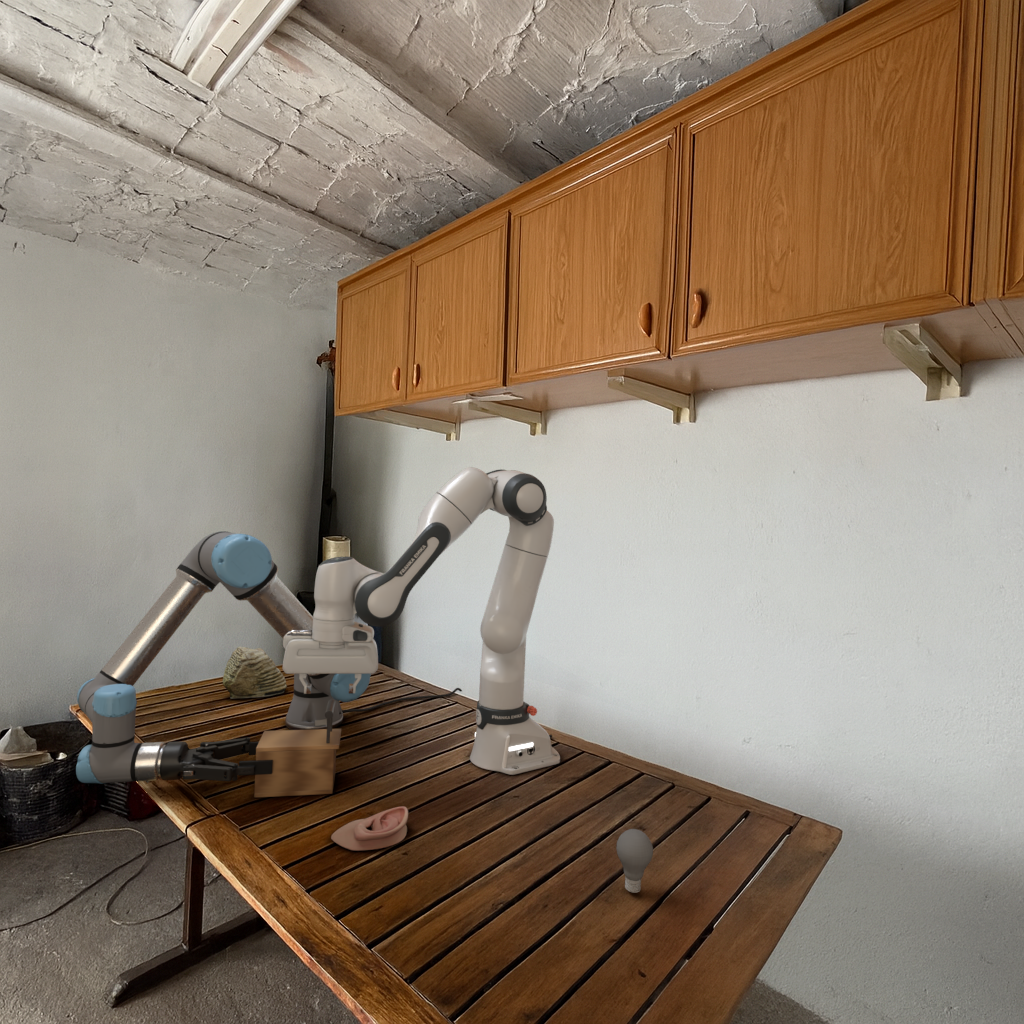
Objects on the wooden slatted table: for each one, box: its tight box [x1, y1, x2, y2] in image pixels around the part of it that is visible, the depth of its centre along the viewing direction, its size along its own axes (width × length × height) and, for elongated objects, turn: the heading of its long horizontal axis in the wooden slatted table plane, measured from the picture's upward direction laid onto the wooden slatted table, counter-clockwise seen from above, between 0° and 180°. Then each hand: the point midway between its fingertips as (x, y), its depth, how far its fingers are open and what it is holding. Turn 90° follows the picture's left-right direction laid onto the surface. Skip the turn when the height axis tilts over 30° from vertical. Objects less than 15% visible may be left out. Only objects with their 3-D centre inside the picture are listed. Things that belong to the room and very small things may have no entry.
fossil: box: [222, 646, 288, 699], centre depth 198 cm, size 9×18×15 cm, turn 132°
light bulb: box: [615, 828, 654, 894], centre depth 106 cm, size 6×6×10 cm
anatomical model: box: [330, 805, 409, 852], centre depth 119 cm, size 13×4×12 cm
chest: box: [253, 749, 337, 798], centre depth 138 cm, size 16×10×10 cm, turn 102°
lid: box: [256, 699, 342, 752], centre depth 138 cm, size 17×10×8 cm, turn 102°
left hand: (276, 756), depth 137 cm, fingers closed on chest, 10 cm apart
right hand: (330, 692), depth 139 cm, fingers open, 8 cm apart
